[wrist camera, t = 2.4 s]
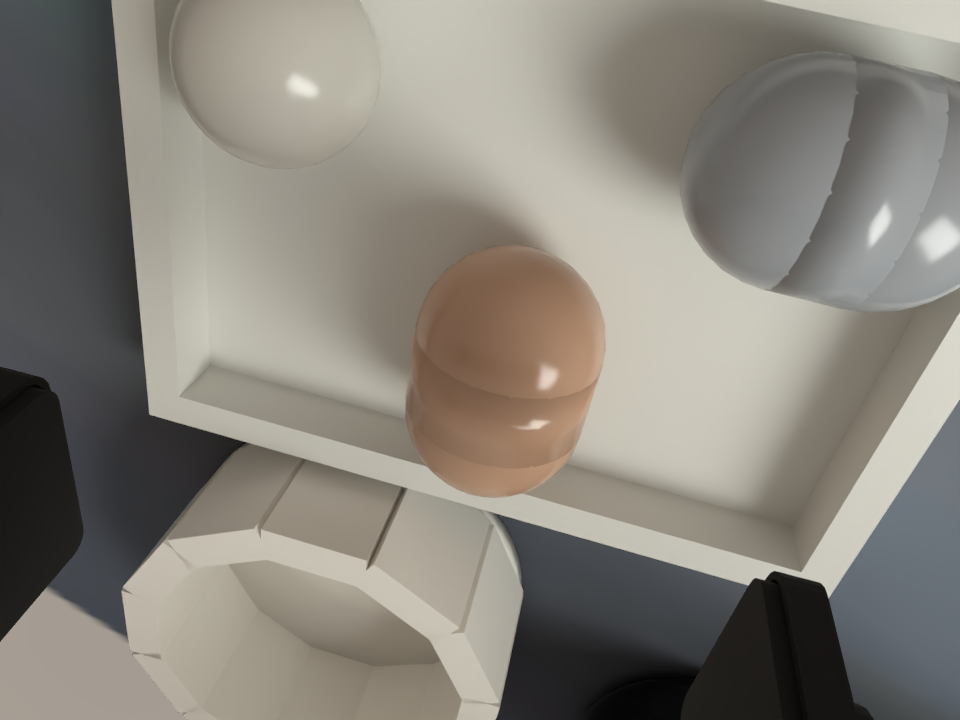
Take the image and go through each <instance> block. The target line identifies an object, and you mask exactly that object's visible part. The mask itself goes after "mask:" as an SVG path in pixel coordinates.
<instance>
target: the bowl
mask: <svg viewBox="0 0 960 720" xmlns="http://www.w3.org/2000/svg"><path fill="white" fill-rule="evenodd" d="M522 594H523V589H522V574H521V568H520V562H519V558H518V555H517V552H516V549H515V546H514V543H513V541H512V539H511V537H510V535H509V533H508V531H507V529H506V528H505V526H504V524H503V523H502V521H501V520H500V518H499V517H498V515H497V514H496V513H493V512H489V511H486V510H482V509H479V508H475V507H472V506H468V505H465V504H461V503H458V502H454V501H451V500H447V499H444V498H440V497H437V496H433V495H430V494H426V493H422V492H419V491H415V490H412V489H408V488H405V487H401V486H398V485H394V484H391V483H387V482H384V481H380V480H377V479H373V478H370V477H366V476H363V475H359V474H356V473H352V472H349V471H345V470H342V469H338V468H335V467H331V466H328V465H324V464H321V463H317V462H314V461H310V460H307V459H303V458H300V457H296V456H293V455H289V454H286V453H282V452H279V451H275V450H272V449H268V448H265V447H261V446H258V445H254V444H251V443H246V444H244V445H243V446H241V447H239V448H238V449H237V450H236V451H234V452H233V453H232V454H231V455H230V456H229V457H228V458H227V459H226V460H225V461H224V463H223V464H222V465H221V466H220V468H219V469H218V470H217V471H216V473H215V474H214V475H213V476H212V477H211V478H210V479H209V481H208V482H207V483H206V484H205V485H204V486H203V487H202V488H201V490H200V491H199V492H198V493H197V494H196V495H195V497H194V498H193V499H192V500H191V502H190V503H189V504H188V505H187V507H186V508H185V509H184V510H183V512H182V513H181V514H180V515H179V517H178V518H177V519H176V520H175V522H174V523H173V524H172V526H171V527H170V528H169V529H168V531H167V532H166V533H165V534H164V536H163V537H162V538H161V539H160V541H159V542H158V543H157V544H156V546H155V547H154V548H153V549H152V551H151V552H150V553H149V554H148V556H147V557H146V558H145V560H144V561H143V562H142V563H141V565H140V566H139V567H138V568H137V570H136V571H135V572H134V573H133V575H132V576H131V577H130V578H129V580H128V581H127V582H126V583H125V585H124V586H123V590H122V598H123V605H124V612H125V619H126V627H127V634H128V641H129V648H130V651H133V652H134V653H133V654H132V655H133V657H134V658H135V659H136V660H137V662H138V663H139V664H140V665H141V667H142V668H143V669H144V670H145V672H146V673H147V674H148V675H149V677H150V678H151V679H152V680H153V681H154V683H155V684H156V685H157V686H158V688H159V689H160V690H161V692H162V693H163V694H164V695H165V697H166V698H167V699H168V700H169V702H170V703H171V704H172V705H173V706H174V708H175V709H176V710H177V711H178V713H179V712H184V714H183V717H185V718H186V719H187V720H496V718H497V715H498V712H499V709H500V705H501V700H502V695H503V690H504V686H505V681H506V676H507V671H508V667H509V662H510V657H511V652H512V648H513V643H514V638H515V634H516V629H517V624H518V619H519V615H520V610H521V605H522V600H523V596H524V595H522Z"/></svg>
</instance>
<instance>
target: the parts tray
mask: <svg viewBox="0 0 960 720" xmlns="http://www.w3.org/2000/svg"><path fill="white" fill-rule="evenodd" d="M111 1H112V12H113V23H114V34H115V45H116V56H117V66H118V77H119V88H120V99H121V110H122V121H123V132H124V143H125V154H126V165H127V175H128V186H129V197H130V208H131V219H132V230H133V241H134V252H135V263H136V274H137V284H138V295H139V306H140V317H141V328H142V339H143V350H144V361H145V372H146V382H147V393H148V404H149V415H152V416H156V417H159V418H163V419H166V420H170V421H173V422H177V423H180V424H184V425H187V426H191V427H195V428H198V429H202V430H205V431H209V432H212V433H216V434H219V435H223V436H226V437H230V438H233V439H237V440H240V441H244V442H247V443H251V444H254V445H258V446H261V447H265V448H268V449H272V450H275V451H279V452H282V453H286V454H289V455H293V456H296V457H300V458H303V459H307V460H310V461H314V462H317V463H321V464H324V465H328V466H331V467H335V468H338V469H342V470H345V471H349V472H352V473H356V474H359V475H363V476H366V477H370V478H373V479H377V480H380V481H384V482H387V483H391V484H394V485H398V486H401V487H405V488H408V489H412V490H415V491H419V492H422V493H426V494H430V495H433V496H437V497H440V498H444V499H447V500H451V501H454V502H458V503H461V504H465V505H468V506H472V507H475V508H479V509H482V510H486V511H489V512H493V513H496V514H500V515H503V516H507V517H510V518H514V519H517V520H521V521H524V522H528V523H531V524H535V525H538V526H542V527H545V528H549V529H552V530H556V531H559V532H563V533H566V534H570V535H573V536H577V537H580V538H584V539H587V540H591V541H594V542H598V543H601V544H605V545H608V546H612V547H615V548H619V549H622V550H626V551H629V552H633V553H636V554H640V555H643V556H647V557H650V558H654V559H657V560H661V561H665V562H668V563H672V564H675V565H679V566H682V567H686V568H689V569H693V570H696V571H700V572H703V573H707V574H710V575H714V576H717V577H721V578H724V579H728V580H731V581H735V582H738V583H742V584H745V585H749V584H750V583H751V581H752V580H753V579H755V578H758V579H762V580H765V579H766V578H767V576H768V575H769V574H770V573H771V572H773V571H777V572H781V573H785V574H789V575H793V576H796V577H800V578H804V579H808V580H812V581H815V582H819V583H821V584H822V585H823V586H824V587H825V589H826V592H827V595H828V599H829V597H830V596H831V594H832V592H833V591H834V589H835V588H836V586H837V585H838V583H839V582H840V580H841V579H842V577H843V576H844V574H845V573H846V571H847V570H848V568H849V567H850V565H851V564H852V562H853V561H854V559H855V558H856V556H857V555H858V553H859V551H860V550H861V548H862V547H863V545H864V544H865V542H866V541H867V539H868V538H869V536H870V535H871V533H872V532H873V530H874V529H875V527H876V526H877V524H878V523H879V521H880V520H881V518H882V517H883V515H884V513H885V512H886V510H887V509H888V507H889V506H890V504H891V503H892V501H893V500H894V498H895V497H896V495H897V494H898V492H899V491H900V489H901V488H902V486H903V485H904V483H905V482H906V480H907V479H908V477H909V476H910V474H911V472H912V471H913V469H914V468H915V466H916V465H917V463H918V462H919V460H920V459H921V457H922V456H923V454H924V453H925V451H926V450H927V448H928V447H929V445H930V444H931V442H932V441H933V439H934V438H935V436H936V435H937V433H938V431H939V430H940V428H941V427H942V425H943V424H944V422H945V421H946V419H947V418H948V416H949V415H950V413H951V412H952V410H953V409H954V407H955V406H956V404H957V403H958V401H959V400H960V287H959V288H958V289H956V290H955V291H953V292H952V293H950V294H948V295H945V296H943V297H941V298H939V299H937V300H934V301H932V302H930V303H927V304H924V305H922V306H918V307H914V308H910V309H905V310H901V311H897V312H873V313H869V312H857V311H850V310H843V309H838V308H834V307H830V306H826V305H822V304H818V303H814V302H810V301H806V300H802V299H798V298H794V297H790V296H786V295H782V294H778V293H774V292H770V291H766V290H763V289H760V288H757V287H754V286H752V285H749V284H746V283H743V282H741V281H740V280H738V279H736V278H735V277H733V276H731V275H730V274H728V273H726V272H725V271H723V270H722V269H721V268H720V267H719V266H718V265H717V264H716V263H714V262H713V261H712V260H711V259H710V258H709V257H708V256H707V255H706V254H705V253H704V252H703V250H702V249H701V247H700V246H699V245H698V243H697V242H696V240H695V239H694V237H693V236H692V233H691V231H690V229H689V226H688V224H687V222H686V219H685V217H684V213H683V207H682V202H681V197H680V167H681V163H682V158H683V155H684V151H685V148H686V145H687V142H688V139H689V136H690V134H691V131H692V129H693V127H694V126H695V124H696V123H697V121H698V119H699V118H700V116H701V115H702V113H703V111H704V110H705V108H706V107H707V106H708V105H709V104H710V103H711V101H712V100H713V99H714V98H715V97H716V96H717V95H718V94H719V93H720V92H721V91H722V89H723V88H725V87H726V86H727V85H729V84H730V83H731V82H733V81H734V80H735V79H737V78H738V77H739V76H741V75H742V74H743V73H745V72H747V71H749V70H751V69H753V68H755V67H757V66H759V65H761V64H763V63H765V62H767V61H769V60H772V59H775V58H779V57H782V56H786V55H789V54H793V53H799V52H810V51H829V52H838V53H846V54H847V53H848V54H853V55H857V56H862V57H866V58H871V59H875V60H880V61H884V62H889V63H893V64H898V65H902V66H907V67H911V68H916V69H920V70H925V71H929V72H933V73H936V74H938V75H941V76H944V77H947V78H950V79H953V80H956V81H959V82H960V0H360V2H361V3H362V5H363V6H364V8H365V10H366V12H367V13H368V15H369V17H370V20H371V22H372V24H373V26H374V29H375V33H376V36H377V39H378V43H379V48H380V54H381V84H380V91H379V96H378V99H377V102H376V106H375V108H374V110H373V112H372V115H371V117H370V119H369V121H368V123H367V124H366V126H365V127H364V129H363V131H362V132H361V133H360V134H359V135H358V136H357V138H356V139H355V140H354V141H353V142H352V143H351V144H350V145H349V146H348V147H346V148H345V149H344V150H343V151H342V152H340V153H338V154H337V155H335V156H334V157H332V158H330V159H328V160H326V161H324V162H321V163H319V164H316V165H312V166H308V167H304V168H299V169H271V168H266V167H260V166H257V165H254V164H251V163H248V162H245V161H243V160H241V159H239V158H236V157H234V156H232V155H231V154H229V153H227V152H226V151H224V150H223V149H221V148H220V147H219V146H217V145H216V144H215V143H213V142H212V141H211V140H210V139H209V138H208V137H207V136H206V135H205V134H204V133H203V132H202V131H201V130H200V129H199V127H198V126H197V125H196V124H195V123H194V121H193V120H192V118H191V117H190V116H189V114H188V113H187V111H186V109H185V107H184V106H183V104H182V102H181V100H180V98H179V95H178V93H177V90H176V87H175V84H174V81H173V77H172V73H171V68H170V62H169V34H170V28H171V24H172V20H173V16H174V13H175V10H176V7H177V5H178V3H179V0H111ZM499 245H524V246H530V247H534V248H538V249H541V250H544V251H546V252H548V253H550V254H552V255H554V256H556V257H558V258H560V259H562V260H563V261H565V262H566V263H568V264H569V265H570V266H571V267H573V268H574V269H575V270H576V271H577V272H578V273H579V274H580V275H581V277H582V278H583V279H584V280H585V281H586V282H587V284H588V285H589V286H590V288H591V290H592V292H593V293H594V295H595V297H596V299H597V301H598V303H599V306H600V308H601V312H602V315H603V319H604V322H605V340H606V351H605V356H604V361H603V366H602V370H601V373H600V376H599V379H598V383H597V386H596V389H595V392H594V395H593V398H592V401H591V404H590V408H589V411H588V414H587V417H586V420H585V423H584V426H583V430H582V433H581V436H580V438H579V441H578V443H577V445H576V447H575V449H574V451H573V454H572V455H571V456H570V458H569V459H568V460H567V462H566V463H565V464H564V465H563V467H562V468H561V469H560V470H559V471H558V473H557V474H555V475H554V476H553V477H551V478H550V479H549V480H547V481H546V482H545V483H543V484H542V485H540V486H539V487H537V488H535V489H532V490H530V491H528V492H525V493H521V494H518V495H514V496H510V497H502V498H487V497H480V496H475V495H470V494H467V493H465V492H462V491H459V490H457V489H455V488H453V487H451V486H449V485H448V484H446V483H445V482H444V481H442V480H441V479H440V478H438V477H437V476H436V475H435V474H434V473H433V472H432V471H431V470H430V469H429V468H428V467H427V466H426V465H425V464H424V463H423V461H422V460H421V458H420V456H419V455H418V453H417V451H416V449H415V448H414V446H413V444H412V442H411V439H410V435H409V432H408V428H407V424H406V419H405V403H406V402H405V396H406V389H407V382H408V375H409V368H410V361H411V355H412V348H413V341H414V334H415V327H416V322H417V319H418V315H419V311H420V308H421V306H422V303H423V301H424V299H425V297H426V295H427V293H428V291H429V289H430V287H431V286H432V285H433V284H434V283H435V282H436V280H437V279H438V278H439V277H440V276H441V275H442V274H443V272H444V271H445V270H446V269H447V268H448V267H450V266H451V265H453V264H454V263H455V262H457V261H458V260H460V259H461V258H463V257H464V256H466V255H468V254H471V253H473V252H476V251H479V250H481V249H484V248H487V247H491V246H499Z"/></svg>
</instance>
